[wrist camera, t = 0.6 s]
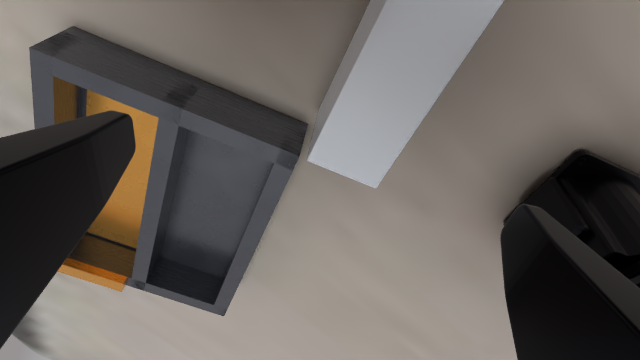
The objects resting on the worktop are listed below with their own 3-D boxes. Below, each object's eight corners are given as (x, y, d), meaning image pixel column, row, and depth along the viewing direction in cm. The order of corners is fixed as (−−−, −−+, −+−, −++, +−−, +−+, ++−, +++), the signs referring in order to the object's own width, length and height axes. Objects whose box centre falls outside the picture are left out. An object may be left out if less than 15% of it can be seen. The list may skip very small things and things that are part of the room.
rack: (307, 124, 22) (297, 162, 19) (235, 281, 31) (221, 323, 28) (72, 26, 20) (19, 52, 17) (71, 225, 29) (37, 265, 26)
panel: (521, -108, 15) (575, -104, 11) (374, 133, 22) (375, 188, 18) (442, -154, 14) (469, -167, 10) (318, 109, 22) (306, 160, 18)
